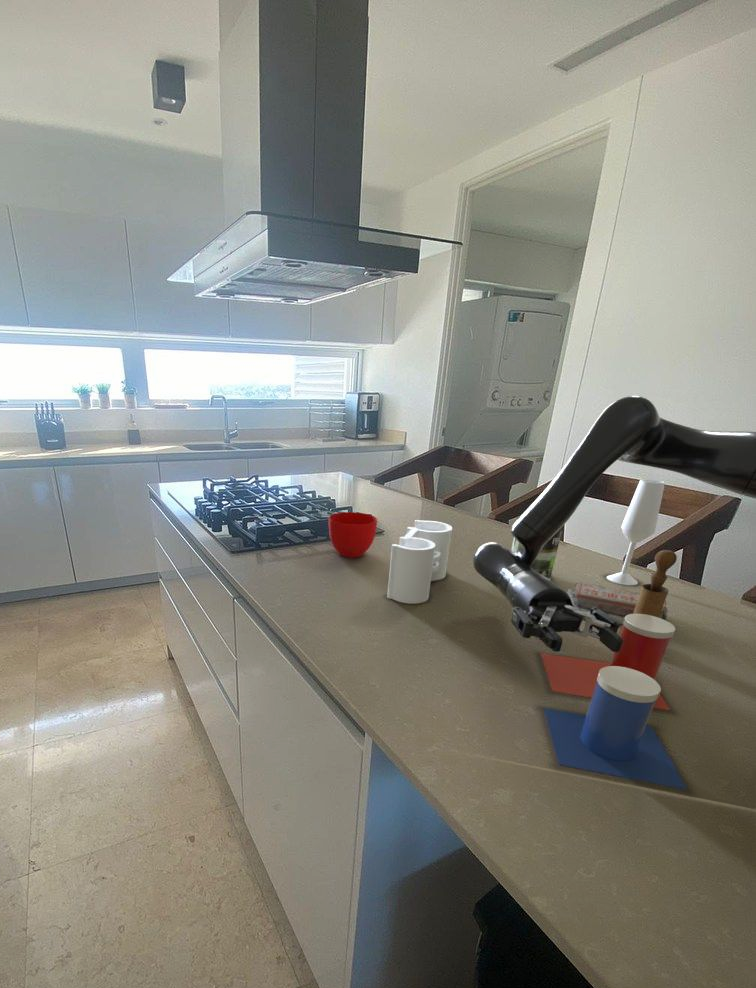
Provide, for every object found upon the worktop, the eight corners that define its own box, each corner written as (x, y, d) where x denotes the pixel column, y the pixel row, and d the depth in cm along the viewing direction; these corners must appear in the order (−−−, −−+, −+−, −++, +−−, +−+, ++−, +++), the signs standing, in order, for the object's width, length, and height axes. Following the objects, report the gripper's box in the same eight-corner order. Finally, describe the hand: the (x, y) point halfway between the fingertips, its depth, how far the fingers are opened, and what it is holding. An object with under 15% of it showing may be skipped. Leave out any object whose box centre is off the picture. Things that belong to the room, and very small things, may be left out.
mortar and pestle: (619, 647, 88) (650, 553, 81) (613, 632, 94) (641, 542, 86) (661, 654, 86) (697, 559, 79) (653, 638, 92) (685, 547, 84)
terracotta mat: (642, 669, 82) (642, 667, 82) (670, 711, 71) (670, 710, 71) (540, 654, 86) (540, 653, 86) (551, 692, 75) (552, 691, 75)
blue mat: (651, 727, 68) (651, 726, 68) (687, 791, 57) (687, 789, 57) (543, 709, 71) (543, 707, 71) (558, 766, 61) (558, 764, 61)
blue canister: (627, 732, 66) (650, 670, 62) (643, 766, 61) (669, 700, 56) (574, 723, 68) (593, 662, 64) (585, 755, 62) (606, 690, 58)
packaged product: (668, 593, 99) (671, 611, 92) (661, 615, 101) (663, 634, 94) (571, 575, 108) (566, 590, 100) (565, 595, 110) (560, 611, 102)
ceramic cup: (384, 546, 140) (387, 512, 136) (366, 564, 126) (368, 527, 122) (341, 540, 145) (343, 507, 141) (320, 557, 131) (321, 520, 126)
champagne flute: (643, 581, 118) (675, 482, 108) (630, 587, 115) (662, 485, 105) (614, 573, 123) (643, 477, 114) (601, 578, 120) (629, 480, 110)
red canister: (646, 670, 81) (665, 616, 77) (661, 692, 75) (683, 635, 71) (602, 663, 83) (619, 611, 78) (613, 685, 77) (632, 629, 73)
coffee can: (553, 573, 122) (566, 518, 117) (547, 586, 114) (561, 528, 109) (510, 565, 127) (521, 512, 122) (502, 577, 119) (513, 521, 113)
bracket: (426, 607, 103) (433, 553, 98) (382, 598, 106) (387, 545, 101) (449, 570, 123) (456, 523, 118) (411, 563, 127) (416, 518, 122)
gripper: (499, 578, 81) (545, 622, 67) (583, 578, 82) (646, 622, 67) (491, 618, 84) (533, 668, 70) (572, 618, 85) (630, 669, 70)
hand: (589, 646), depth 68 cm, fingers open, 8 cm apart
